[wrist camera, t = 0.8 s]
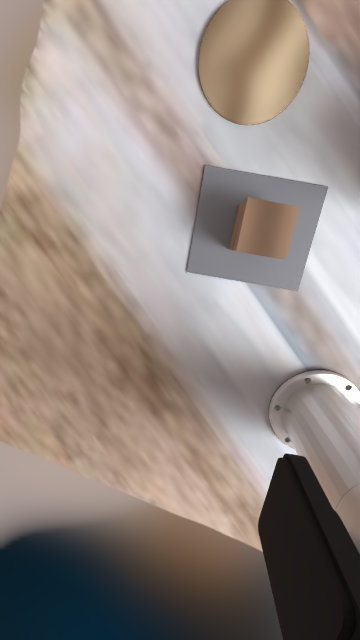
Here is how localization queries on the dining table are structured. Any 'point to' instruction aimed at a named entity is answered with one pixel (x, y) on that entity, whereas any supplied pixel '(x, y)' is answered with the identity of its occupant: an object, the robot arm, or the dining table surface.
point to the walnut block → (263, 228)
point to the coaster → (253, 59)
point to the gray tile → (218, 220)
